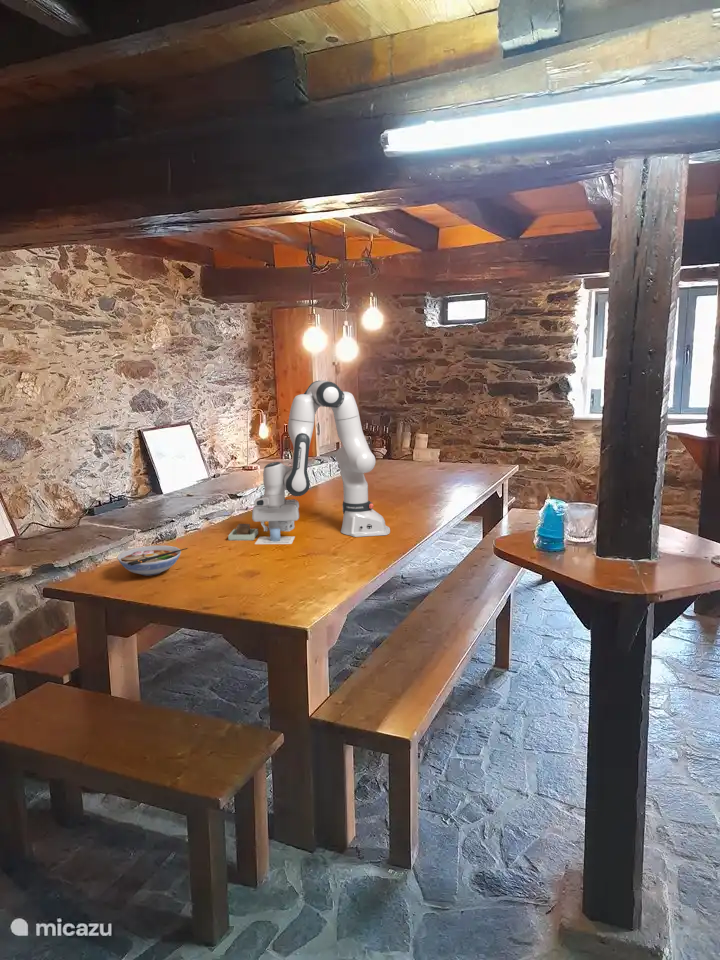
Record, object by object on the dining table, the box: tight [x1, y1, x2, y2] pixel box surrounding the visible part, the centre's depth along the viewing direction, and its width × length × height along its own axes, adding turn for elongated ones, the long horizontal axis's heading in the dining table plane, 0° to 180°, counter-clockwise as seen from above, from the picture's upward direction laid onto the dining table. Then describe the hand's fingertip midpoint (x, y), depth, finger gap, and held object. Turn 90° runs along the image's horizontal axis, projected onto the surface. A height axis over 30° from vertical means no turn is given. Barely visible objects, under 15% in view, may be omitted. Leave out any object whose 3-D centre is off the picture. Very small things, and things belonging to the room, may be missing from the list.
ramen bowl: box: [117, 544, 189, 577], centre depth 246 cm, size 25×23×8 cm
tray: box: [228, 528, 259, 542], centre depth 294 cm, size 11×11×2 cm
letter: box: [254, 535, 296, 545], centre depth 288 cm, size 16×12×1 cm
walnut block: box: [235, 523, 251, 535], centre depth 293 cm, size 5×5×5 cm
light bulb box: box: [267, 521, 296, 532], centre depth 306 cm, size 11×7×11 cm, turn 74°
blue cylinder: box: [269, 528, 281, 542], centre depth 287 cm, size 4×4×5 cm
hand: (276, 530), depth 288 cm, fingers open, 8 cm apart
